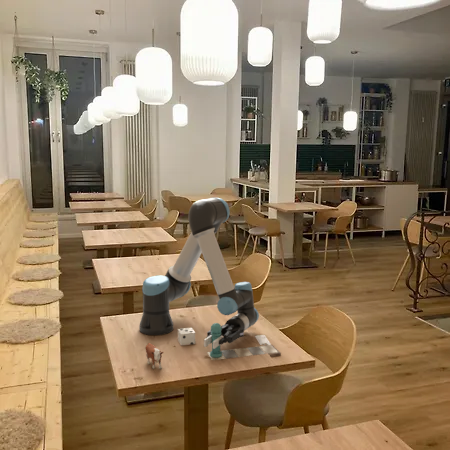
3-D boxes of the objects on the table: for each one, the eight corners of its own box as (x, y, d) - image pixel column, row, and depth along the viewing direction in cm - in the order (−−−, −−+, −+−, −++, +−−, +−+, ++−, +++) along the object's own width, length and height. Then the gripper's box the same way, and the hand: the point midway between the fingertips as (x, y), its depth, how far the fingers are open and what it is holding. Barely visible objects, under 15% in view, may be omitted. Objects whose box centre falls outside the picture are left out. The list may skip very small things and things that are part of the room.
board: (211, 364, 186) (211, 361, 186) (204, 354, 195) (204, 351, 194) (280, 355, 194) (280, 352, 194) (271, 346, 203) (271, 344, 203)
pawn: (211, 358, 188) (212, 325, 186) (208, 353, 193) (208, 321, 191) (223, 357, 190) (223, 324, 188) (220, 352, 194) (220, 320, 192)
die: (180, 348, 201) (180, 333, 200) (177, 342, 206) (177, 328, 206) (195, 346, 202) (195, 332, 202) (191, 341, 208) (191, 327, 207)
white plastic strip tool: (261, 351, 199) (261, 348, 199) (253, 337, 214) (253, 335, 214) (274, 350, 200) (274, 347, 200) (265, 336, 215) (265, 334, 215)
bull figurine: (153, 375, 177) (153, 353, 176) (144, 360, 189) (144, 340, 188) (165, 372, 179) (165, 351, 177) (155, 358, 191) (155, 338, 189)
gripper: (254, 337, 203) (228, 358, 182) (219, 330, 210) (190, 349, 190) (254, 319, 202) (228, 338, 181) (219, 313, 209) (190, 330, 188)
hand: (209, 344), depth 185 cm, fingers closed on pawn, 3 cm apart
